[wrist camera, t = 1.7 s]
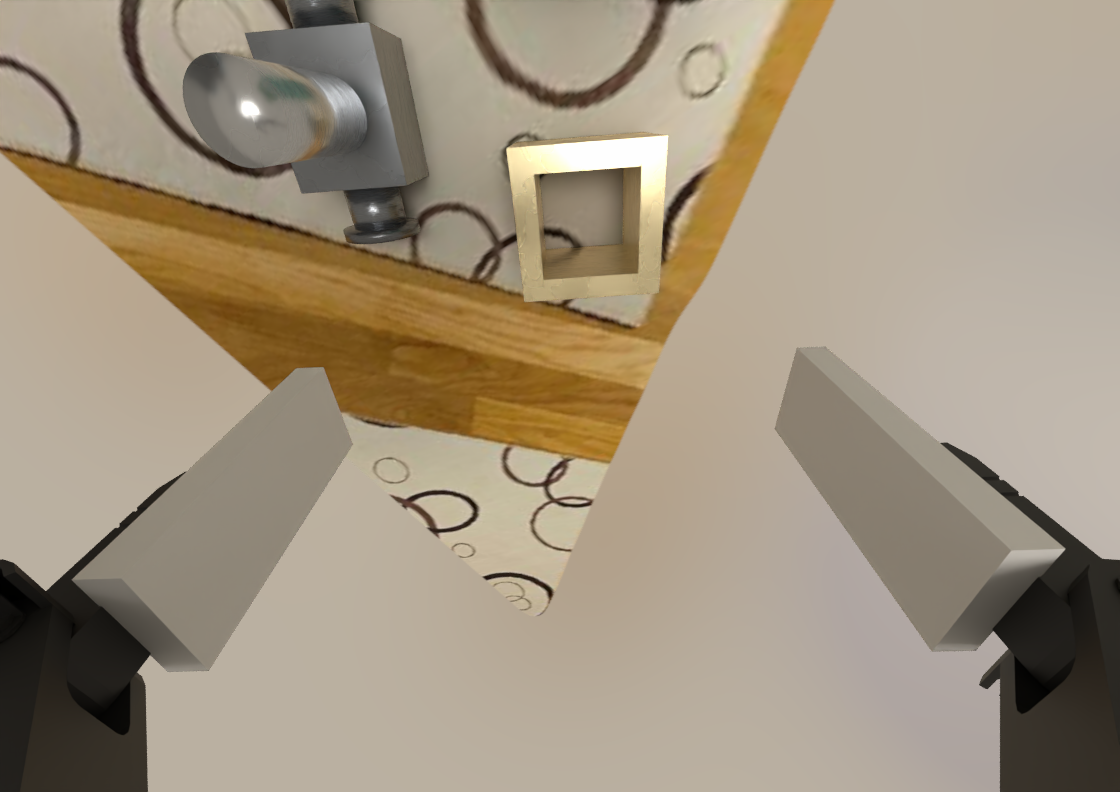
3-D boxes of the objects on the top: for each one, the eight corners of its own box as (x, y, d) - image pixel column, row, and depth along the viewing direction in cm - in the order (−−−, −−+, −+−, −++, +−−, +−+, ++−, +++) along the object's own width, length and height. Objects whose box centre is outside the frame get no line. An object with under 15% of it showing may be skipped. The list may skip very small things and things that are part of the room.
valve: (275, -24, 23) (25, -151, 12) (385, -34, 23) (232, -172, 12) (353, 229, 30) (239, 293, 19) (438, 223, 30) (372, 283, 19)
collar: (517, 142, 27) (506, 148, 22) (643, 132, 27) (668, 135, 21) (530, 267, 32) (524, 302, 26) (639, 260, 32) (658, 292, 26)
